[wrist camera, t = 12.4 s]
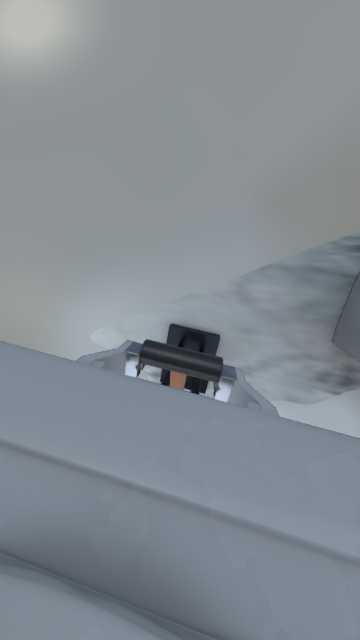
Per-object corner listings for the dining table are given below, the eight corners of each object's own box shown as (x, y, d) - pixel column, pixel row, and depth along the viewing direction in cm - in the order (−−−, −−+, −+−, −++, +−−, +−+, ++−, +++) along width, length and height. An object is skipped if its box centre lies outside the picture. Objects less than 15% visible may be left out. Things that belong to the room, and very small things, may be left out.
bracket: (171, 323, 35) (138, 371, 20) (219, 335, 34) (224, 394, 19) (161, 378, 38) (128, 452, 24) (205, 389, 37) (199, 474, 23)
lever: (148, 329, 12) (134, 361, 11) (224, 347, 12) (220, 383, 10) (157, 402, 25) (151, 421, 23) (194, 412, 24) (190, 433, 23)
